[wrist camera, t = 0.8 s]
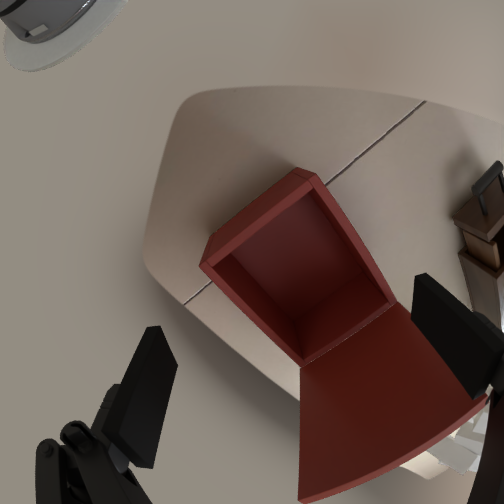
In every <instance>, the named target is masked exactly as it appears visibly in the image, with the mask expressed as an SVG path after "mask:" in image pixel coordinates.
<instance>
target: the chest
mask: <svg viewBox="0 0 504 504" xmlns="http://www.w3.org/2000/svg"><path fill="white" fill-rule="evenodd" d="M199 267H200V269H201V270H202V271H203V272H204V273H205V274H206V275H207V276H208V277H209V278H210V279H211V280H212V281H213V282H214V283H215V284H216V285H217V286H218V287H219V288H220V289H221V290H222V291H223V292H224V293H225V294H226V295H227V296H228V297H229V298H230V299H231V300H232V301H233V302H234V303H235V305H236V306H237V307H238V308H239V309H240V310H241V311H242V312H243V313H245V314H246V315H247V316H248V317H249V318H250V319H251V320H252V321H253V322H254V323H255V324H256V325H257V326H258V327H259V328H260V329H261V330H262V331H263V332H264V333H265V334H266V335H267V336H268V337H269V338H270V339H271V340H272V341H273V342H274V343H275V344H276V345H277V346H278V347H280V348H281V349H282V350H283V351H284V352H285V353H286V354H287V355H288V356H289V357H290V358H291V359H292V360H293V361H294V362H295V363H297V364H298V365H299V366H300V367H303V366H305V365H306V364H307V363H309V362H311V361H313V360H314V359H316V358H318V357H319V356H321V355H322V354H324V353H326V352H327V351H329V350H330V349H332V348H333V347H335V346H336V345H338V344H339V343H341V342H342V341H344V340H345V339H347V338H348V337H350V336H351V335H353V334H354V333H355V332H357V331H358V330H360V329H361V328H363V327H364V326H365V325H367V324H368V323H370V322H371V321H372V320H374V319H375V318H376V317H378V316H379V315H380V314H382V313H383V312H384V311H386V310H387V309H388V308H390V307H391V306H392V305H394V304H395V303H396V302H397V300H396V298H395V296H394V294H393V292H392V291H391V289H390V287H389V285H388V283H387V282H386V280H385V278H384V276H383V275H382V273H381V271H380V270H379V268H378V266H377V264H376V263H375V261H374V259H373V258H372V256H371V254H370V253H369V251H368V250H367V248H366V246H365V245H364V243H363V242H362V240H361V238H360V237H359V235H358V234H357V232H356V231H355V229H354V227H353V226H352V224H351V223H350V221H349V220H348V218H347V217H346V215H345V214H344V212H343V211H342V209H341V208H340V206H339V205H338V204H337V202H336V201H335V199H334V198H333V196H332V195H331V193H330V192H329V191H328V189H327V188H326V186H325V185H324V184H323V182H322V181H321V179H320V178H319V177H318V175H317V174H316V173H313V172H310V171H307V170H304V169H302V168H298V167H296V168H295V169H294V170H293V171H291V172H290V173H289V174H287V175H286V176H285V177H283V178H282V179H281V180H280V181H278V182H277V183H276V184H274V185H273V186H272V187H271V188H269V189H268V190H267V191H266V192H264V193H263V194H262V195H260V196H259V197H258V198H257V199H255V200H254V201H253V202H252V203H250V204H249V205H248V206H247V207H245V208H244V209H243V210H242V211H240V212H239V213H238V214H237V215H236V216H234V217H233V218H232V219H231V220H229V221H228V222H227V223H226V224H224V225H223V226H222V227H221V228H220V229H218V230H217V231H216V232H215V233H214V234H212V235H211V236H210V237H209V240H208V243H207V245H206V248H205V250H204V253H203V256H202V258H201V261H200V264H199Z"/></svg>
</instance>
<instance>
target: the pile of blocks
mask: <svg viewBox="0 0 504 504" xmlns="http://www.w3.org/2000/svg"><path fill="white" fill-rule="evenodd" d="M492 389H493V387H492V386H491V385H490V384H489V386H488V388H487V390H486V393H487V395H488V396H489V395H490V393H491V391H492ZM489 405H490V400H489V404H487V405H486V406H485V407H484V408H483V409H482V410H480V411H479V412H478V413H477V414H476V415H474V416H473V417H472V418H471V419H469V420H468V421H467V422H466V423H464V424H463V425H462V426H461V427H460V429H459V430H458V432H457V433H456V435H455V438H454V437H452V436H451V435H448V436H447V437H445V438H444V439H442V440H441V441H439V442H438V443H436V444H435V445H433V446H432V447H430V448H429V449H427V450H426V451H427V452H429V453H430V454H432V455H433V456H435V457H436V458H437V459H439V461H438V464H442V465H446V466H449V467H451V468H452V469H454V470H455V471H457V472H458V473H460V474H461V475H464V474H465V473H466V471H467V470H469V471H474V472H477V470H478V466H479V462H480V458H481V454H482V449H483V444H484V439H485V434H486V428H487V421H488V414H489Z"/></svg>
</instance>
